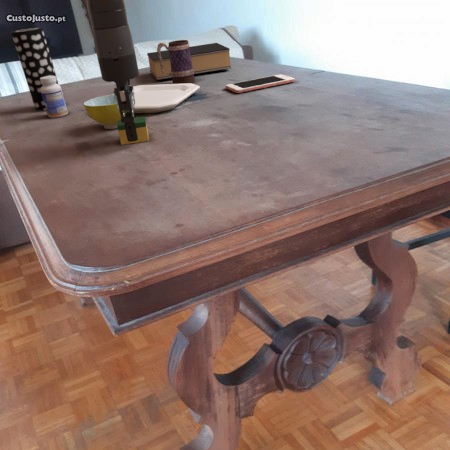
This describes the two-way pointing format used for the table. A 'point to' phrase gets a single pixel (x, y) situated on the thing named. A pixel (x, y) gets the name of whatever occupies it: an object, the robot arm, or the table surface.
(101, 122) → the bowl
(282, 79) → the cell phone
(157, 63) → the book
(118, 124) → the sponge
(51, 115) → the pill bottle
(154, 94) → the plate
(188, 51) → the mug
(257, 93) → the table surface
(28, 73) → the white-spotted black cylinder
